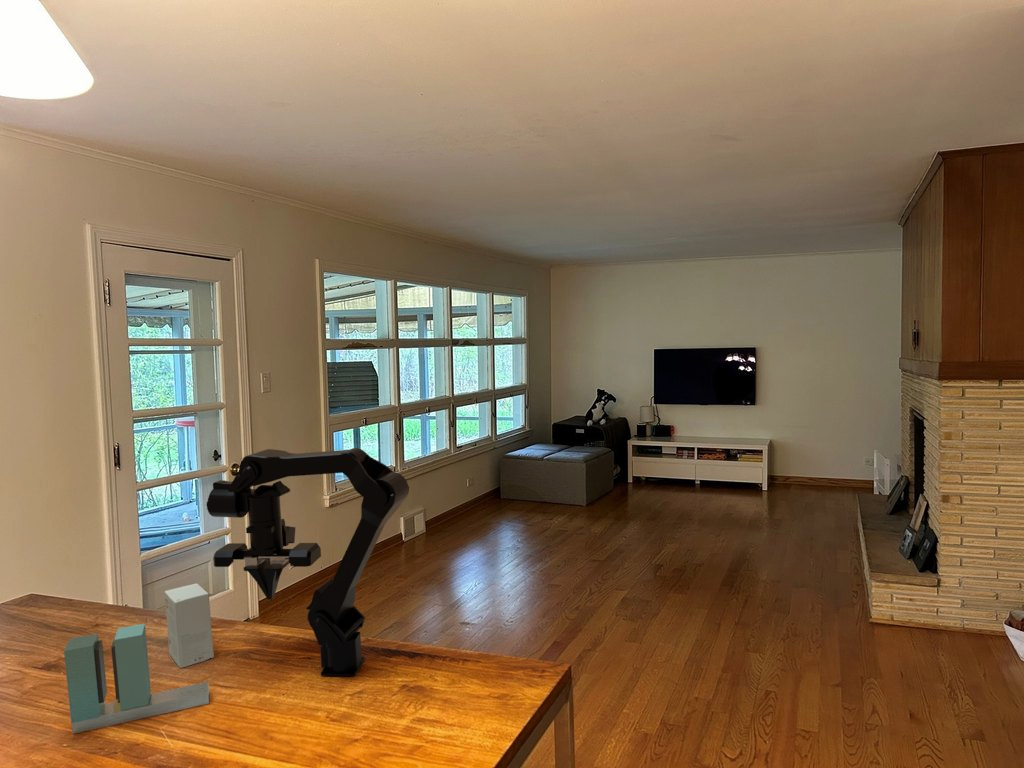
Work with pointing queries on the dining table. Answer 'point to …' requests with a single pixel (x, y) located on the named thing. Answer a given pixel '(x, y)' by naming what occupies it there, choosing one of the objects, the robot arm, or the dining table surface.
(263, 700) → the dining table surface
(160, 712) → the rail
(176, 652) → the small box
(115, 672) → the tall teal pillar
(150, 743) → the dining table surface
